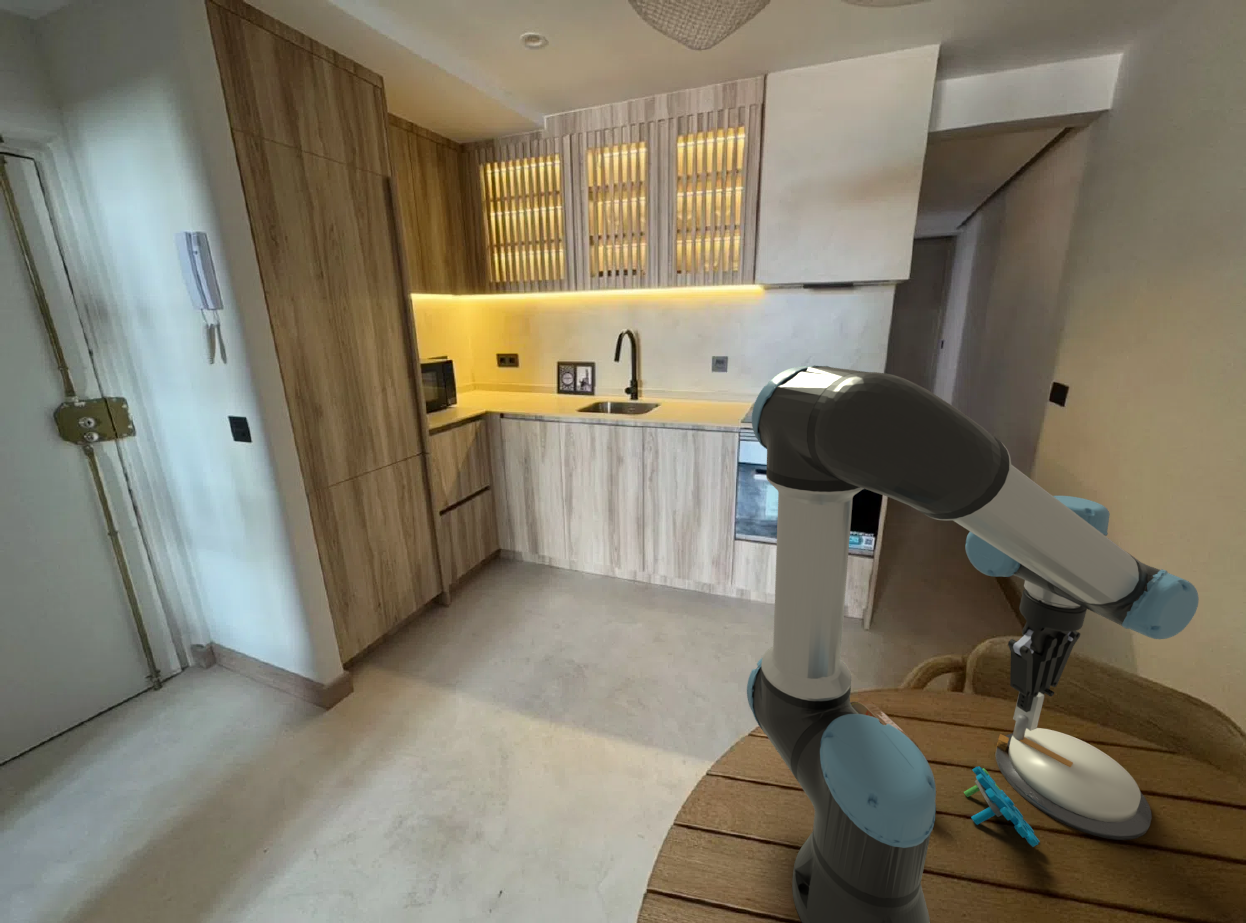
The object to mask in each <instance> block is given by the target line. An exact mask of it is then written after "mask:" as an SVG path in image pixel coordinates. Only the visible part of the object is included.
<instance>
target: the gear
mask: <svg viewBox="0 0 1246 923" xmlns="http://www.w3.org/2000/svg"><path fill="white" fill-rule="evenodd" d="M971 770H972V771H973V773H974V774H975V778H976V780H974V784H975V785H973V786H972V787H970V788H968V789H967V790H965V791H963V793H964V795H965V796H966V797H967V798H969V797H971V796H972V795H974V794H976V793H977V792H980V793H981V794H982V796H983V798H984V800H985V801H986V803H987V805H988V807H987V808H985V809H983V810H981V811H979V812H978V813H976V814H974V815H972V816H970V817H971V820H972V821H973V823H974V824H975V825H977V826H978V825H979V824H981V823H983V822H985V821H988V820H989V819H990V818H993V817H994V816H996V817H998V818H999V817H1000V816H1003V817H1004V818H1005V819H1006V820H1007V821H1010V822H1011V823H1012V824H1013V825H1014V826H1013V827H1014V829H1015V831H1016V832H1017V833H1018V834H1019V835H1020V836H1021V838H1025V840H1026V841H1027V843H1028V844H1029V845H1030V846H1031V847H1032V848H1034V847H1035V846H1038V845H1039V843H1040V842H1041V841H1040V840H1039V838H1038V836H1036V835H1035V831H1034V829H1033V828H1032V826H1031V825H1030V824H1029V823H1028V822H1027V821H1026V820H1025V819H1024V815H1023V814H1022V813H1021V812H1020V810H1019V809H1018V807H1016V806H1015V803H1014V802H1013V800H1012V799H1011V798H1010V797H1009V796H1008V795H1007V794H1006V792H1004V790H1003V789H1001V788H1000V787H999V786H998V785H997V782H996V781H995V780H994V779H993V778H992V776H991V775H990V773H989V772H988V771H987V770H986V768H984V767H981V766H975V767H974V768H972V769H971Z"/></svg>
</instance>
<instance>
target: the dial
mask: <svg viewBox="0 0 1246 923" xmlns="http://www.w3.org/2000/svg"><path fill="white" fill-rule="evenodd" d="M1027 723H1028V717H1026V716H1025V715H1023V714H1018V715H1017V719H1016V721H1015V723H1014V724H1015V725H1014V728H1013V732H1012V733H1013V736H1012V737H1011V741H1010V746H1009V750H1008V755H1009V759H1010V762H1011V764H1012V766H1013V767H1014V769H1015V770H1016V772H1017V773H1018V774H1019V775H1020V777H1021V778H1022V779H1023V780H1024V781H1025V782H1026V783H1027V784H1029V785H1030V786H1031V787H1032V788H1033V789H1034V790H1036V791H1037V792H1038V793H1040V794H1041V795H1043V796H1044V797H1045V798H1047V799H1049V800H1050V801H1052V802H1053V803H1055V804H1057V805H1059V806H1061V807H1063V808H1065V809H1067V810H1069V811H1071V812H1074V813H1076V814H1079V815H1081V816H1084V817H1087V818H1091V819H1095V820H1099V821H1105V822H1123V821H1127V820H1129V819H1131V818H1132V817H1134V816H1135V814H1136V812H1137V809H1138V806H1139V803H1140V799H1141V794H1140V792H1141V790H1140V788H1139V785H1138V783H1137V781H1136V780H1135V779H1134V777H1133V776H1132V775H1131V774H1130V773H1129V771H1127V770H1126V769H1125V768H1124V767H1123V766H1122V765H1121V764H1120V763H1119V762H1118V761H1116V760H1115V759H1114V758H1112V757H1111V756H1109V755H1108V754H1106V753H1105V752H1103V751H1102V750H1100V749H1099V748H1097V747H1095V746H1094V745H1091V744H1089V743H1088V742H1086V741H1084V740H1081V739H1079V738H1076V737H1074V736H1072V735H1069V734H1067V733H1063V732H1060V731H1057V730H1053V729H1052V730H1051V729H1049V728H1041V727H1037V729H1034V730H1032V731H1030V730H1028V729H1027V728H1026V727H1027Z"/></svg>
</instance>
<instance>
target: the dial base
mask: <svg viewBox="0 0 1246 923" xmlns="http://www.w3.org/2000/svg"><path fill="white" fill-rule="evenodd" d="M1012 736H1013V732H1012V733H1009V734H1006V735H1003V734H1001V733H1000V734H999V736H998V739H997V743H996V747H995V748H996V749H995V761H996V764H997V767H998V769H999V772H1001V774H1002V776H1003V777H1004V779H1005V780H1006V781H1007V783H1009V785H1010V786H1011V787H1012V788H1013V789H1014V790H1015V791H1016V793H1018V794H1019V795H1020V796H1021V797H1022V798H1023V799H1024V800H1026V801H1027V802H1029V803H1030V805H1032V806H1034V807H1036V809H1038V810H1039V811H1041V812H1043V813H1044V814H1045V815H1047V816H1049V817H1051V818H1053V819H1054V820H1056V821H1058V822H1060V823H1062V824H1064V825H1065V826H1066V825H1067V826H1068V827H1070V828H1072V829H1075V830H1077V831H1078V832H1079V831H1080V832H1082V833H1086V834H1089V835H1092V836H1095V837H1099V838H1103V839H1108V840H1116V841H1129V840H1135V839H1138V838H1140V837H1142V836H1144V835H1145V834H1147V831H1148V830H1149V828H1150V826H1151V823H1152V822H1151V821H1152V817H1153V816H1152V810H1151V807H1150V804H1149V802H1148V801H1147V799H1146V796H1144V794H1143V793H1142V792H1141V791H1140V794H1141V799H1140V803H1139V806H1138V809H1137V812H1136V814H1135V816H1134V817H1132V818H1131V819H1129V820H1127V821H1123V822H1105V821H1099V820H1095V819H1091V818H1087V817H1084V816H1081V815H1079V814H1076V813H1074V812H1071V811H1069V810H1067V809H1065V808H1063V807H1061V806H1059V805H1057V804H1055V803H1053V802H1052V801H1050V800H1049V799H1047V798H1045V797H1044V796H1043V795H1041V794H1040V793H1038V792H1037V791H1036V790H1034V789H1033V788H1032V787H1031V786H1030V785H1029V784H1027V783H1026V782H1025V781H1024V780H1023V779H1022V778H1021V777H1020V775H1019V774H1018V773H1017V772H1016V770H1015V769H1014V767H1013V766H1012V764H1011V762H1010V759H1009V755H1008V750H1009V746H1010V741H1011V737H1012Z"/></svg>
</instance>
